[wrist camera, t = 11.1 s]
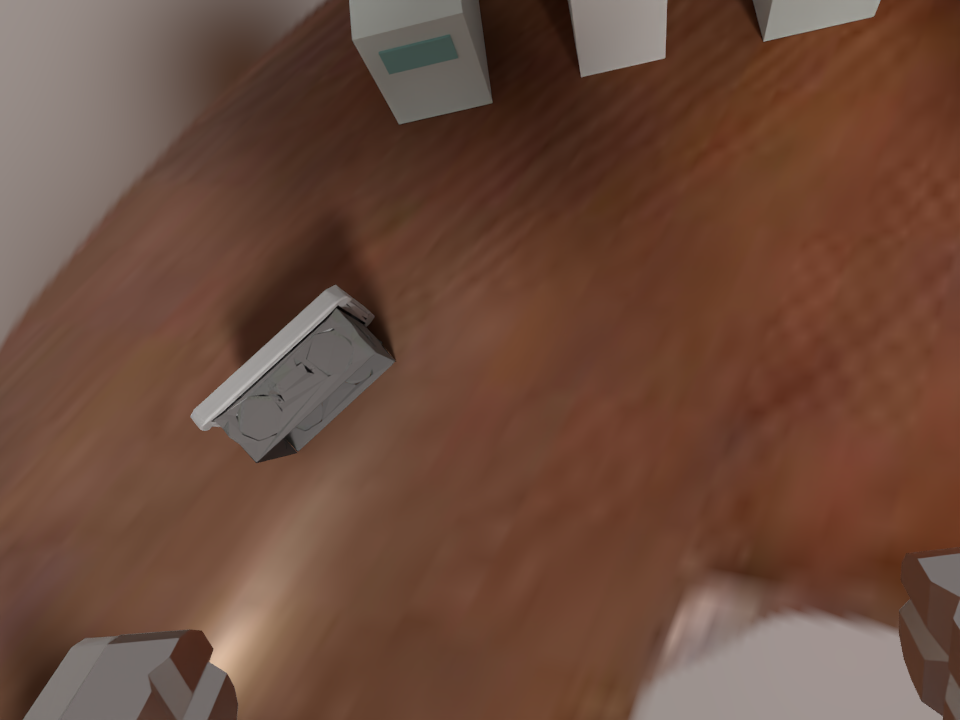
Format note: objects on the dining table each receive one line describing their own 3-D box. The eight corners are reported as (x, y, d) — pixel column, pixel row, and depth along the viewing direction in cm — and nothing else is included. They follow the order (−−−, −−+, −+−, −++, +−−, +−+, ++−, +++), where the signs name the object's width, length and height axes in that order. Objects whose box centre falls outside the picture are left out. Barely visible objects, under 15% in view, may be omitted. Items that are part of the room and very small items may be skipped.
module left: (478, -4, 49) (447, -109, 41) (492, 105, 47) (462, 15, 39) (389, 19, 50) (343, -80, 42) (399, 126, 48) (352, 42, 40)
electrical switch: (368, 307, 45) (311, 256, 36) (425, 370, 44) (381, 333, 35) (250, 416, 45) (162, 392, 36) (304, 482, 43) (227, 474, 34)
